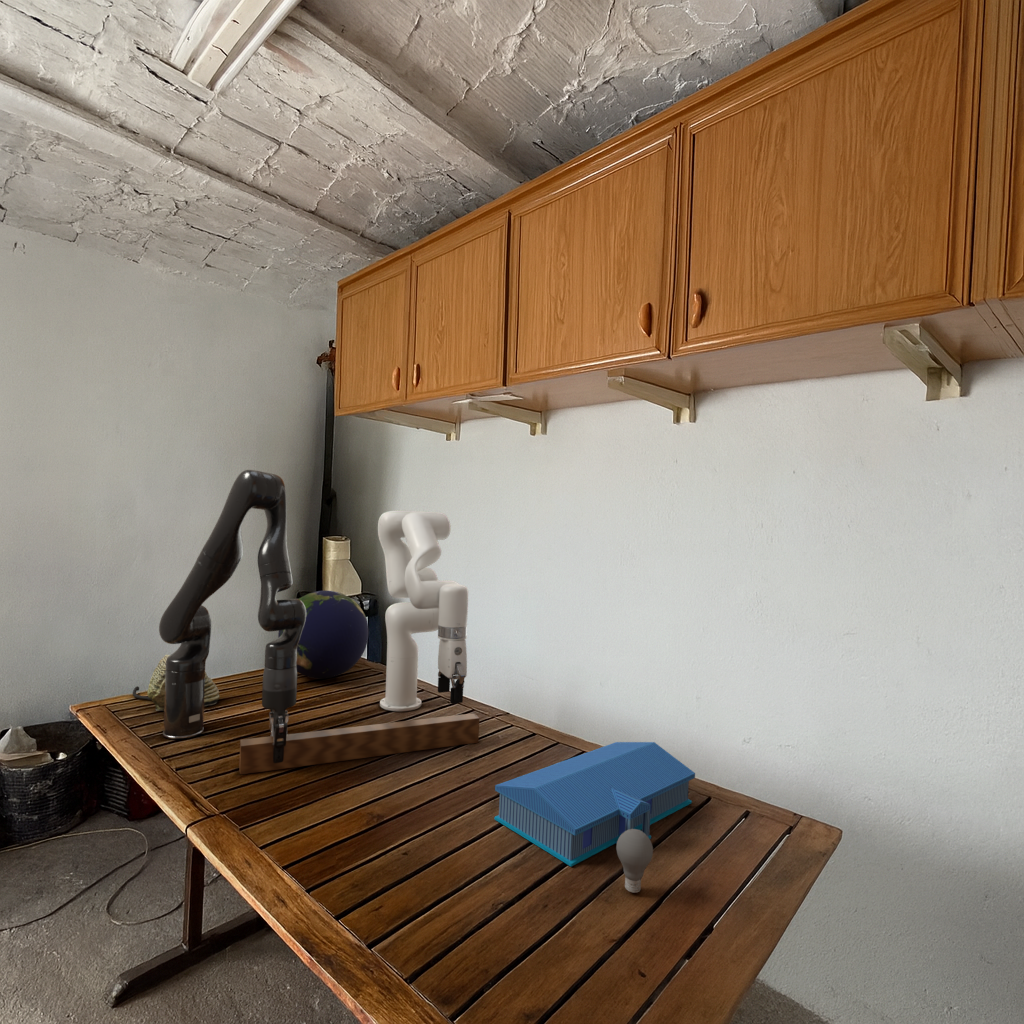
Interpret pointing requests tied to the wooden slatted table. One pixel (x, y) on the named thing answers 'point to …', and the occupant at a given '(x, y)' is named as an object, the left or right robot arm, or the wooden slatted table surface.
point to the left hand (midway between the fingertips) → (277, 757)
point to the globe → (330, 635)
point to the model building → (594, 798)
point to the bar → (359, 742)
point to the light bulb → (634, 857)
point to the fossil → (158, 687)
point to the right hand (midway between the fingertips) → (449, 697)
